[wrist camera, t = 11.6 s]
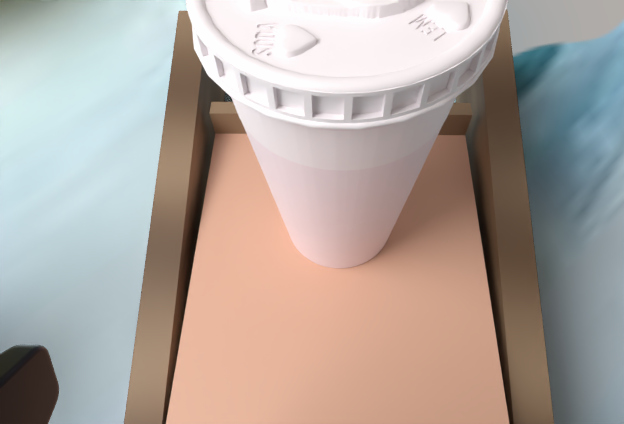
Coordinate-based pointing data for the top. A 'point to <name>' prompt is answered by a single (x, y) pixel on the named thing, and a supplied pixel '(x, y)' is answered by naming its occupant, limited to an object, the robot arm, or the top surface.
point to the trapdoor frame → (490, 210)
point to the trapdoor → (338, 306)
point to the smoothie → (343, 102)
